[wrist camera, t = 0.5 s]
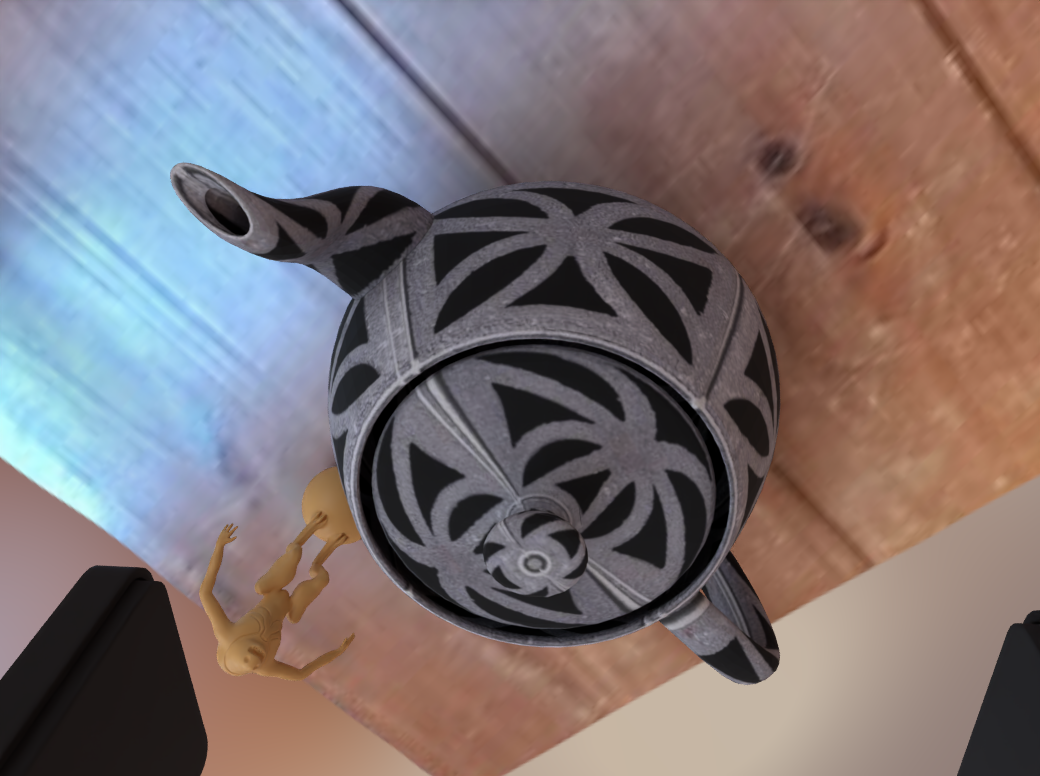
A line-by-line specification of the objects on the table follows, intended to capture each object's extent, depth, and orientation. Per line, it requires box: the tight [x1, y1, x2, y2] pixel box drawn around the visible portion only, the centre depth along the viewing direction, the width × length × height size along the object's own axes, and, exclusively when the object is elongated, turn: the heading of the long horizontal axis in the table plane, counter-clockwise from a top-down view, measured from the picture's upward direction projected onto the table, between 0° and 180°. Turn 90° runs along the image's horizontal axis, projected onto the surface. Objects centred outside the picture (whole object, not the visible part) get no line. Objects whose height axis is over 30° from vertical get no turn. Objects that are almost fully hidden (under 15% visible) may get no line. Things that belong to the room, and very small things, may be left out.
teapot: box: [170, 163, 780, 685], centre depth 34 cm, size 19×31×15 cm, turn 43°
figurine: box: [199, 466, 362, 681], centre depth 41 cm, size 8×6×12 cm
